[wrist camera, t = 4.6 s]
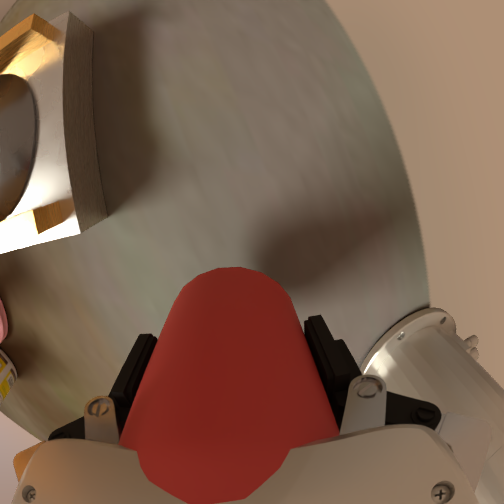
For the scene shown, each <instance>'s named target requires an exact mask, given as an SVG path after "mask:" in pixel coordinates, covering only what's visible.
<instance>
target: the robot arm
mask: <svg viewBox="0 0 504 504" xmlns="http://www.w3.org/2000/svg"><path fill="white" fill-rule="evenodd" d="M304 333H305V338H306V341H307V343H308V346H309V349H310V351H311V354H312V357H313V359H314V362H315V365H316V367H317V370H318V373H319V376H320V378H321V381H322V384H323V387H324V389H325V392H326V395H327V398H328V400H329V403H330V406H331V409H332V412H333V414H334V417H335V420H336V423H337V426H338V429H339V432H340V433H339V436H334V437H330V438H325V439H320V440H316V441H313V442H310V443H307V444H304V445H301V446H299V447H296V448H293V449H290V451H289V453H288V455H287V457H286V458H285V460H284V462H283V464H282V465H281V467H280V468H279V469H278V470H277V471H276V472H275V473H274V474H273V475H272V476H271V477H270V478H269V479H268V480H267V481H266V482H264V483H263V484H262V485H261V486H260V487H259V488H258V489H256V490H255V491H254V492H253V493H252V494H250V495H249V496H248V497H247V498H245V499H242V500H236V501H230V502H223V503H216V504H504V390H503V388H502V387H501V386H500V385H499V384H498V383H497V382H496V381H495V380H494V379H493V378H492V377H491V376H490V375H489V374H488V372H486V370H485V369H484V368H483V367H482V366H481V365H480V364H479V363H478V362H477V361H476V360H477V359H478V355H479V353H478V350H477V348H476V347H475V346H477V344H478V338H477V336H475V335H473V336H471V337H469V338H467V339H466V340H464V341H463V340H462V339H461V338H460V337H459V336H458V335H457V334H456V326H455V322H454V319H453V318H452V317H451V316H450V315H449V314H448V313H447V312H446V311H444V310H442V309H439V308H427V309H424V310H421V311H418V312H415V313H414V314H412V315H410V316H408V317H406V318H405V319H403V320H402V321H400V322H399V323H397V324H396V325H395V326H394V327H392V328H391V329H390V330H389V331H388V332H386V334H385V335H384V336H383V337H382V338H381V339H380V340H379V341H378V342H377V343H376V344H375V346H374V347H373V348H372V349H371V351H370V352H369V353H368V355H367V357H366V358H365V360H364V361H363V363H362V366H361V368H360V369H359V367H358V366H357V364H356V362H355V360H354V358H353V356H352V355H351V353H350V351H349V349H348V347H347V346H346V344H345V342H344V341H343V340H342V339H339V340H334V339H333V337H332V335H331V333H330V331H329V329H328V327H327V325H326V323H325V321H324V319H323V318H322V316H321V315H316V316H310V317H308V320H305V321H304ZM157 341H158V340H157V338H156V337H155V336H154V337H153V335H152V334H140V335H139V336H138V338H137V340H136V342H135V344H134V346H133V348H132V350H131V352H130V353H129V355H128V357H127V359H126V361H125V363H124V365H123V367H122V369H121V371H120V373H119V375H118V377H117V379H116V381H115V383H114V385H113V387H112V389H111V392H110V394H109V396H108V397H107V396H97V397H95V398H93V399H91V400H90V401H89V402H88V403H87V404H86V406H85V409H84V416H83V417H81V418H79V419H77V420H75V421H73V422H71V423H69V424H67V425H65V426H63V427H61V428H58V429H56V430H55V431H53V432H52V433H51V434H50V436H49V438H48V441H47V442H46V441H45V440H44V441H42V442H40V443H38V444H36V445H34V446H32V447H30V448H28V449H26V450H23V451H21V452H19V453H18V454H16V456H15V457H14V460H13V465H14V468H15V472H16V475H17V478H18V482H19V484H18V487H17V489H16V492H15V495H14V497H13V500H12V503H11V504H187V503H186V502H184V501H182V500H180V499H178V498H176V497H174V496H172V495H171V494H169V493H167V492H166V491H164V490H162V489H161V488H159V487H158V486H156V485H155V484H153V483H152V482H150V481H149V480H148V479H147V477H146V476H145V474H144V472H143V470H142V469H141V467H140V463H139V459H138V454H137V451H134V450H132V449H129V448H126V447H123V446H122V445H118V443H119V440H120V438H121V435H122V432H123V429H124V426H125V423H126V420H127V418H128V415H129V412H130V409H131V407H132V404H133V401H134V399H135V396H136V393H137V391H138V388H139V386H140V383H141V380H142V378H143V375H144V373H145V370H146V368H147V365H148V363H149V360H150V358H151V355H152V353H153V350H154V348H155V346H156V343H157Z"/></svg>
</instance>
